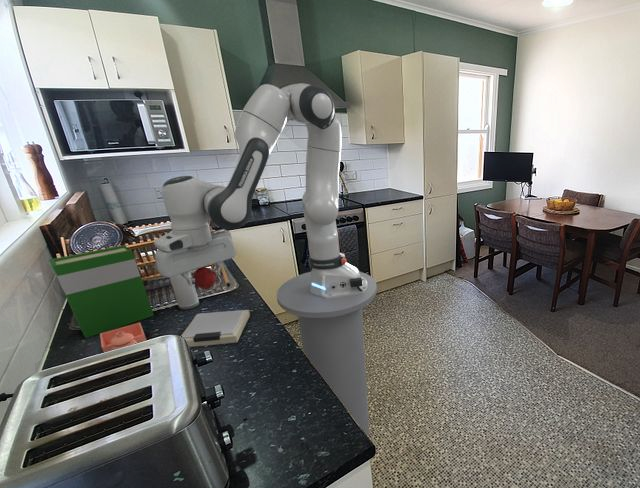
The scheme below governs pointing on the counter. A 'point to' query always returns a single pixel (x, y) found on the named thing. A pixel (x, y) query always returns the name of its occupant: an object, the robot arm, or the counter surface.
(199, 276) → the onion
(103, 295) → the green box
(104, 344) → the red box
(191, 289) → the travel mug
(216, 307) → the counter surface
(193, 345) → the scale
